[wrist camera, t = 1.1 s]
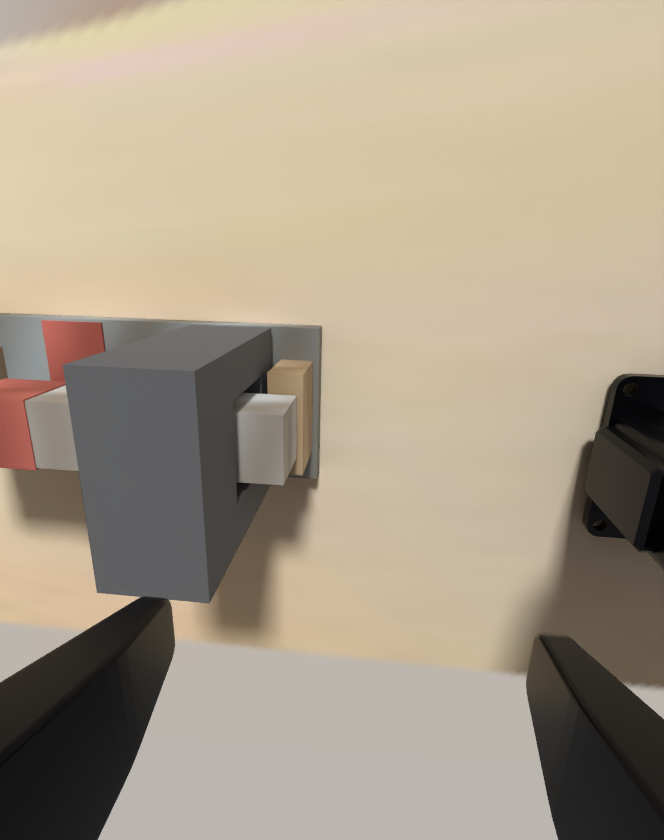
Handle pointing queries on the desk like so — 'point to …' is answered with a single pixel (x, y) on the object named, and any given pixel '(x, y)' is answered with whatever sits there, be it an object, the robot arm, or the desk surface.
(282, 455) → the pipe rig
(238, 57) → the desk surface
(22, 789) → the robot arm
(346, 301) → the desk surface
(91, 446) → the collar
